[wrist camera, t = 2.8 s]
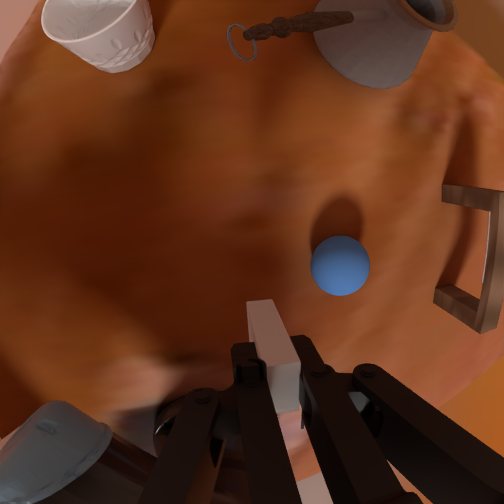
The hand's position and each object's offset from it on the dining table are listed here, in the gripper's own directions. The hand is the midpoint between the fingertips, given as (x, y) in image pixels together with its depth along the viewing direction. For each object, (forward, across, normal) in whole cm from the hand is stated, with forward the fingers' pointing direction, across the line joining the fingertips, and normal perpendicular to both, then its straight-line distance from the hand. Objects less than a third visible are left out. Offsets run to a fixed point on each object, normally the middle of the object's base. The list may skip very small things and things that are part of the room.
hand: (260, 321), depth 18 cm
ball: (+9, -9, 0) cm, 13 cm away
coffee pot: (+13, -9, -20) cm, 25 cm away
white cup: (+12, +10, -23) cm, 28 cm away
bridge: (+12, -25, 0) cm, 28 cm away
